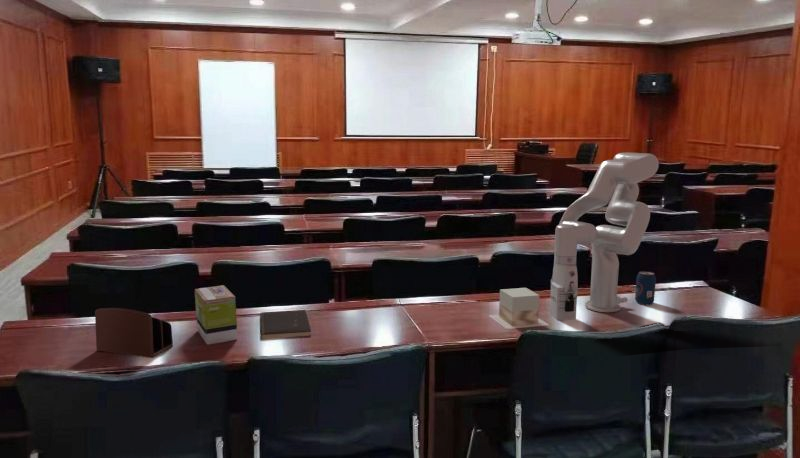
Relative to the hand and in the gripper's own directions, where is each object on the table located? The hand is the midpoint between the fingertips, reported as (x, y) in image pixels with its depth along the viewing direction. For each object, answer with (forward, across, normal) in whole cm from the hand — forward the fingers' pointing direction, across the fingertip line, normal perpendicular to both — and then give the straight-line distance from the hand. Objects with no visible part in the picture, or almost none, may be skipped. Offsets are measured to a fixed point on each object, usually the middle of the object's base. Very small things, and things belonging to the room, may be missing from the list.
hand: (562, 307), depth 219 cm
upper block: (-2, 0, +17) cm, 17 cm away
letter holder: (+3, +7, +142) cm, 142 cm away
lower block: (+3, 0, +17) cm, 18 cm away
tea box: (+3, +13, +118) cm, 119 cm away
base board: (+4, 0, +17) cm, 18 cm away
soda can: (+5, +10, -42) cm, 43 cm away
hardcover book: (+4, +17, +96) cm, 98 cm away
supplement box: (+4, 0, 0) cm, 4 cm away
